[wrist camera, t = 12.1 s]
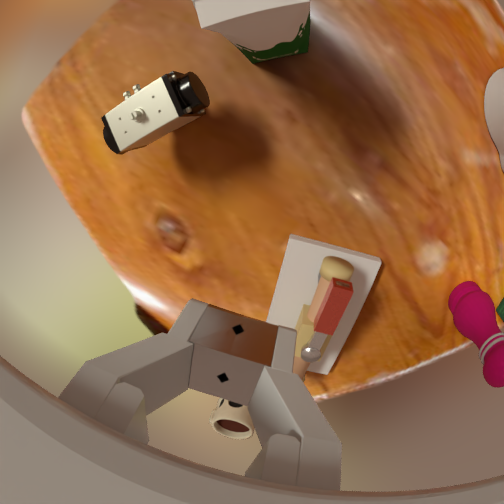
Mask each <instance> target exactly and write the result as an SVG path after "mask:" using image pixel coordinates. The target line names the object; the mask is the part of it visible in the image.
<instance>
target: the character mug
mask: <svg viewBox="0 0 504 504" xmlns="http://www.w3.org/2000/svg"><path fill="white" fill-rule="evenodd" d="M247 407H248V406H245V405H241V404H238V403H235V402H232V401H229V400H226V399H223V398H219V400H218V404H217V407H216V409H214V410H213V411H212V413H211V416H210V419H209V423H211V424H212V427H213V429H214V430H215V431H216V432H218V433H219V434H221V435H223V436H225V437H228V438H232V439H247V438H250V437H251V436H252V435H253V433H254V429H255V427H254V425H253V422H252V419H251V416H250V414H249V411H248V408H247Z"/></svg>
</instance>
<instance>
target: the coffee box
mask: <svg viewBox="0 0 504 504" xmlns="http://www.w3.org/2000/svg"><path fill="white" fill-rule="evenodd" d="M496 311H497V313H498V314H499V316H500V317H501V319H502V320H503V322H504V298H503V300H502V301H501V302H500V304H499V306H498V308H497V309H496Z"/></svg>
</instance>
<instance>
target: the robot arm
mask: <svg viewBox="0 0 504 504" xmlns="http://www.w3.org/2000/svg"><path fill="white" fill-rule="evenodd" d="M484 109H485V117H486V122H487V126H488V129H489V132H490V135H491V137H492V139H493V141H494V143H495V145H496V147H497V149H498V152H499V155H500V162H501V167H502V170H503V172H504V68H502V69H499V70H497V71H496V72H495V73H494V74H493V75H492V76H491V78H490V79H489V81H488V84H487V86H486V90H485V97H484ZM296 338H297V330H296V329H293V328H289V327H285V326H281V325H275V324H272V323H268V322H265V321H261V320H258V319H254V318H251V317H247V316H244V315H241V314H238V313H235V312H232V311H229V310H226V309H223V308H220V307H217V306H214V305H211V304H208V303H205V302H202V301H199V300H196V299H193V298H192V299H190V300H189V301H188V302H187V304H186V306H185V307H184V309H183V310H182V312H181V313H180V315H179V317H178V318H177V320H176V321H175V323H174V325H173V326H172V328H171V329H170V331H169V333H168V334H165V333H160V334H157V335H155V336H152V337H150V338H147V339H145V340H142V341H139V342H137V343H134V344H132V345H129V346H126V347H124V348H121V349H118V350H116V351H113V352H110V353H108V354H105V355H102V356H100V357H97V358H94V359H91V360H89V361H86V362H85V363H84V365H83V366H82V367H81V368H80V370H79V371H78V372H77V374H76V375H75V376H74V377H73V379H72V380H71V381H70V383H69V384H68V385H67V386H66V388H65V389H64V390H63V392H62V393H61V394H60V396H59V397H58V398H57V397H56V396H54V395H53V394H51V393H50V392H48V391H47V390H45V389H44V388H42V387H41V386H39V385H38V384H37V383H35V382H34V381H32V380H31V379H29V378H28V377H26V376H25V375H24V374H23V373H21V372H20V371H19V370H18V369H16V368H15V367H14V366H12V365H11V364H10V363H9V362H7V361H6V360H5V359H3V358H2V357H1V356H0V504H504V475H501V476H498V477H494V478H490V479H485V480H481V481H476V482H472V483H466V484H460V485H454V486H448V487H441V488H432V489H423V490H411V491H391V492H390V491H389V492H361V491H340V482H341V454H342V443H341V442H340V440H339V438H338V437H337V435H336V434H335V432H334V431H333V429H332V427H331V426H330V424H329V423H328V421H327V420H326V418H325V416H324V415H323V413H322V412H321V410H320V409H319V407H318V406H317V404H316V402H315V401H314V399H313V397H312V396H311V394H310V393H309V391H308V390H307V388H306V386H305V385H304V383H303V381H302V380H301V378H300V377H299V375H298V374H295V373H293V366H294V357H295V348H296ZM188 388H190V389H194V390H197V391H200V392H203V393H206V394H210V395H213V396H217V397H220V398H223V399H226V400H229V401H232V402H235V403H238V404H241V405H245V406H248V407H247V408H248V411H249V414H250V416H251V419H252V422H253V425H254V427H255V430H256V433H257V435H258V438H259V441H260V443H261V446H262V450H261V451H260V453H259V454H258V455H257V457H256V458H255V460H254V461H253V463H252V464H251V465H250V466H249V468H248V470H247V471H246V472H245V476H241V475H237V474H233V473H229V472H225V471H222V470H218V469H215V468H211V467H208V466H205V465H201V464H198V463H195V462H192V461H189V460H186V459H183V458H180V457H177V456H175V455H172V454H169V453H167V452H164V451H162V450H159V449H156V448H154V447H152V446H149V445H147V444H148V442H149V436H148V428H147V420H146V415H148V414H150V413H151V412H153V411H155V410H156V409H158V408H159V407H161V406H163V405H164V404H166V403H167V402H169V401H170V400H172V399H174V398H175V397H177V396H178V395H180V394H181V393H183V392H185V391H186V390H187V389H188Z"/></svg>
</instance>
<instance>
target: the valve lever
mask: <svg viewBox="0 0 504 504" xmlns="http://www.w3.org/2000/svg"><path fill="white" fill-rule="evenodd" d="M353 292H354V291H353V286H352V282H349V281H345V280H342V279H338V278H334V277H332V279H331V282H330V284H329V286H328V289H327V291H326V294H325V296H324V298H323V301H322V303H321V305H320V308H319V310H318V312H317V315H316V317H315V319H314V332H313V334H312V336H311V338H310V340H309V343H308V344H305V345H304V346H303V347H302V348H301V358H302V359H303V360H304V361H306V362H316V361H318V360H319V359H320V357H321V347H322V345H323V343H324V341H325V339H326V337H327V335H332V336H333V334H334V332H335V330H336V328H337V326H338V324H339V322H340V320H341V318H342V316H343V314H344V311H345V309H346V307H347V305H348V303H349V301H350V299H351V297H352V295H353Z"/></svg>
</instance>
